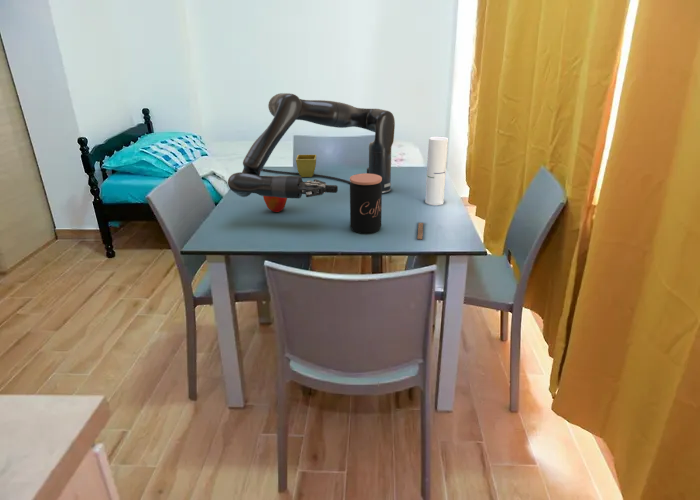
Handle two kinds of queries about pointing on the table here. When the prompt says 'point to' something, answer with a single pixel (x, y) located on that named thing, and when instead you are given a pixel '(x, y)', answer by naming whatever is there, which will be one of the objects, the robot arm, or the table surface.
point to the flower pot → (306, 165)
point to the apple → (275, 203)
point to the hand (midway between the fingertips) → (337, 189)
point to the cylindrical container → (436, 170)
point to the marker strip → (420, 231)
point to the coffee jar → (365, 203)
